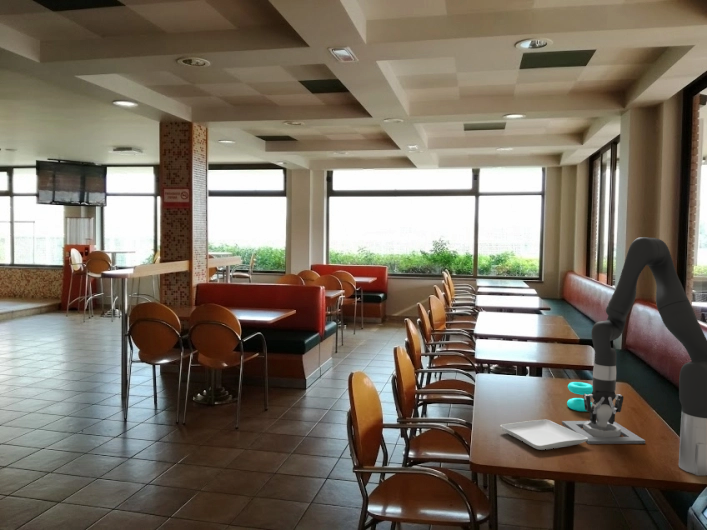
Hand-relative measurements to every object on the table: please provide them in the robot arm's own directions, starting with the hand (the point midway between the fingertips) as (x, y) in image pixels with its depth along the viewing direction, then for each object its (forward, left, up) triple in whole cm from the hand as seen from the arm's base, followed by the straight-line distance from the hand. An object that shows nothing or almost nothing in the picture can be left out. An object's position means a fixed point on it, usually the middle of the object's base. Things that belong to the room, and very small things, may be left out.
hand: (602, 423), depth 199 cm
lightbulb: (0, 0, -4) cm, 4 cm away
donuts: (+28, -6, -4) cm, 29 cm away
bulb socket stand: (0, 0, -4) cm, 4 cm away
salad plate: (-6, +24, -4) cm, 25 cm away
